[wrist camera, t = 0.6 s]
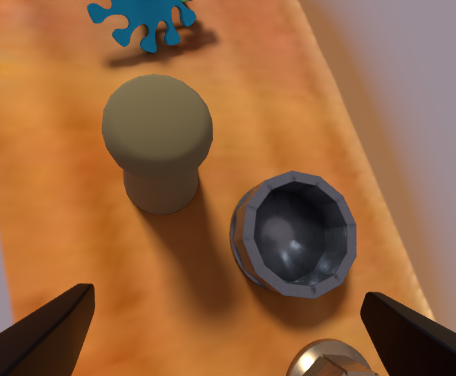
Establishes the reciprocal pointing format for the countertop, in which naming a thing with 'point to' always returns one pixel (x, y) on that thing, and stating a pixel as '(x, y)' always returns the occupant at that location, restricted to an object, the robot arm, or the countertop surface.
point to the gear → (144, 19)
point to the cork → (158, 140)
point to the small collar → (329, 360)
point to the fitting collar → (294, 235)
